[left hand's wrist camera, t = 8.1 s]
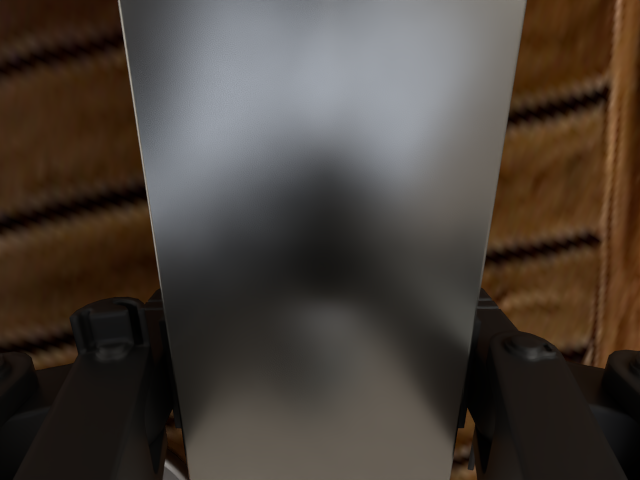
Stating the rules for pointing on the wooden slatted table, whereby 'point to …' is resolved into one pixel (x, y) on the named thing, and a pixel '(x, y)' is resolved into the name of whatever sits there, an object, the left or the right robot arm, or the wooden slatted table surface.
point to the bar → (320, 222)
